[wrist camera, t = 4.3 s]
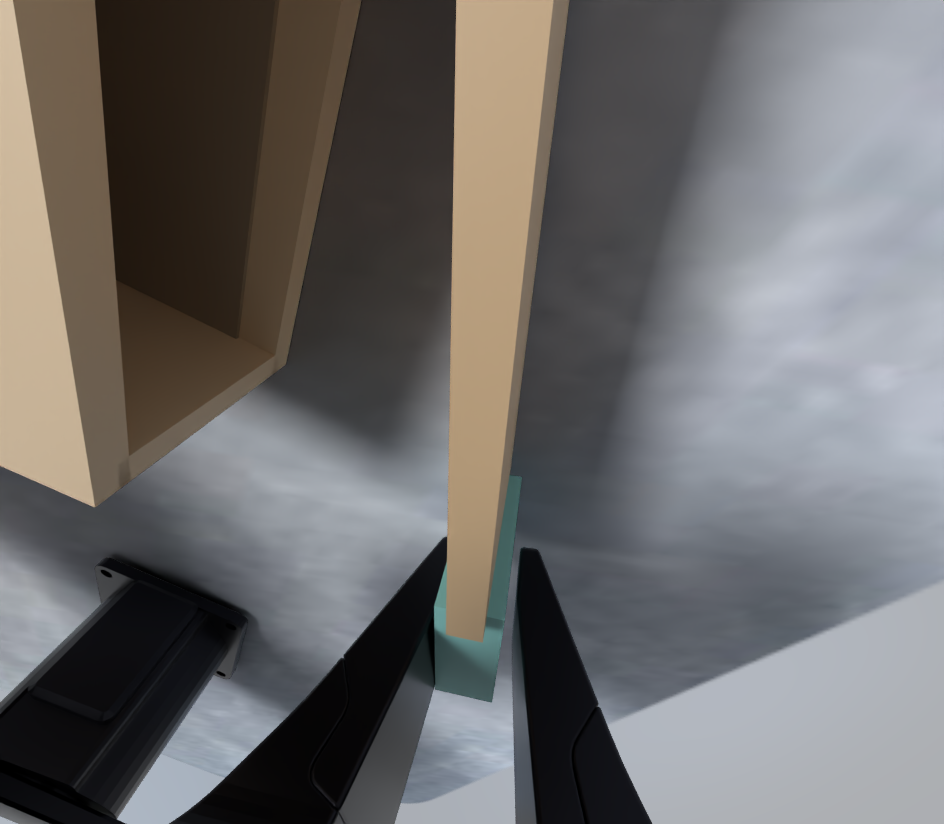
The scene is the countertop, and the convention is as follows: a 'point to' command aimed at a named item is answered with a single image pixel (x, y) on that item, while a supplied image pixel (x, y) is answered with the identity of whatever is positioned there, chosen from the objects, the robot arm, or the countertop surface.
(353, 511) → the countertop surface
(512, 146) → the carton flap
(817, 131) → the countertop surface
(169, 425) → the kraft carton
